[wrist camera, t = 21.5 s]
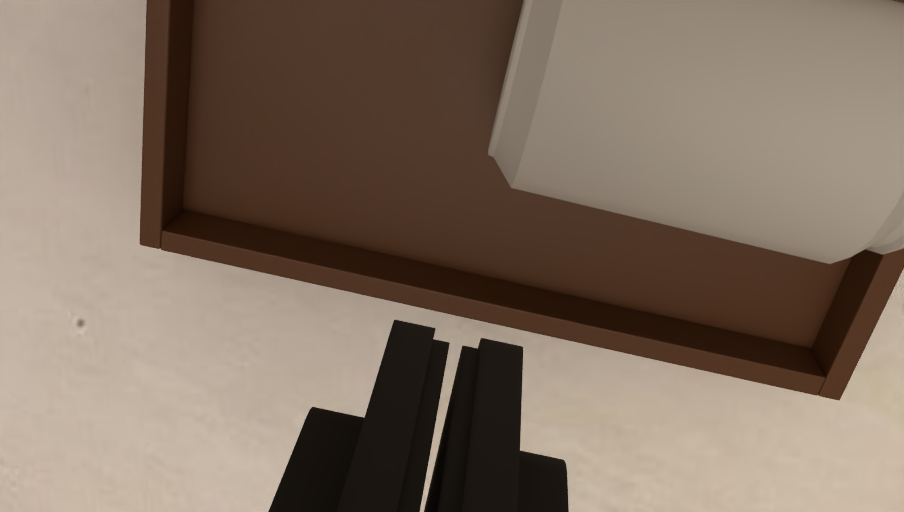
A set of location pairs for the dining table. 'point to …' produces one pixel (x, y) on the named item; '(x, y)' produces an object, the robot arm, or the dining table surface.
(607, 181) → the can
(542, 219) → the tray
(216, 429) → the dining table surface
